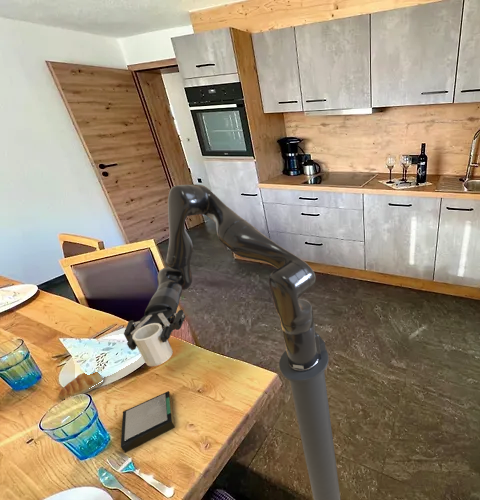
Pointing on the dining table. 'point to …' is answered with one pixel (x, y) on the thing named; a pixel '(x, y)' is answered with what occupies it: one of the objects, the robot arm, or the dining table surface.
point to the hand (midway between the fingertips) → (147, 343)
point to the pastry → (81, 385)
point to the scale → (147, 421)
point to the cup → (152, 344)
